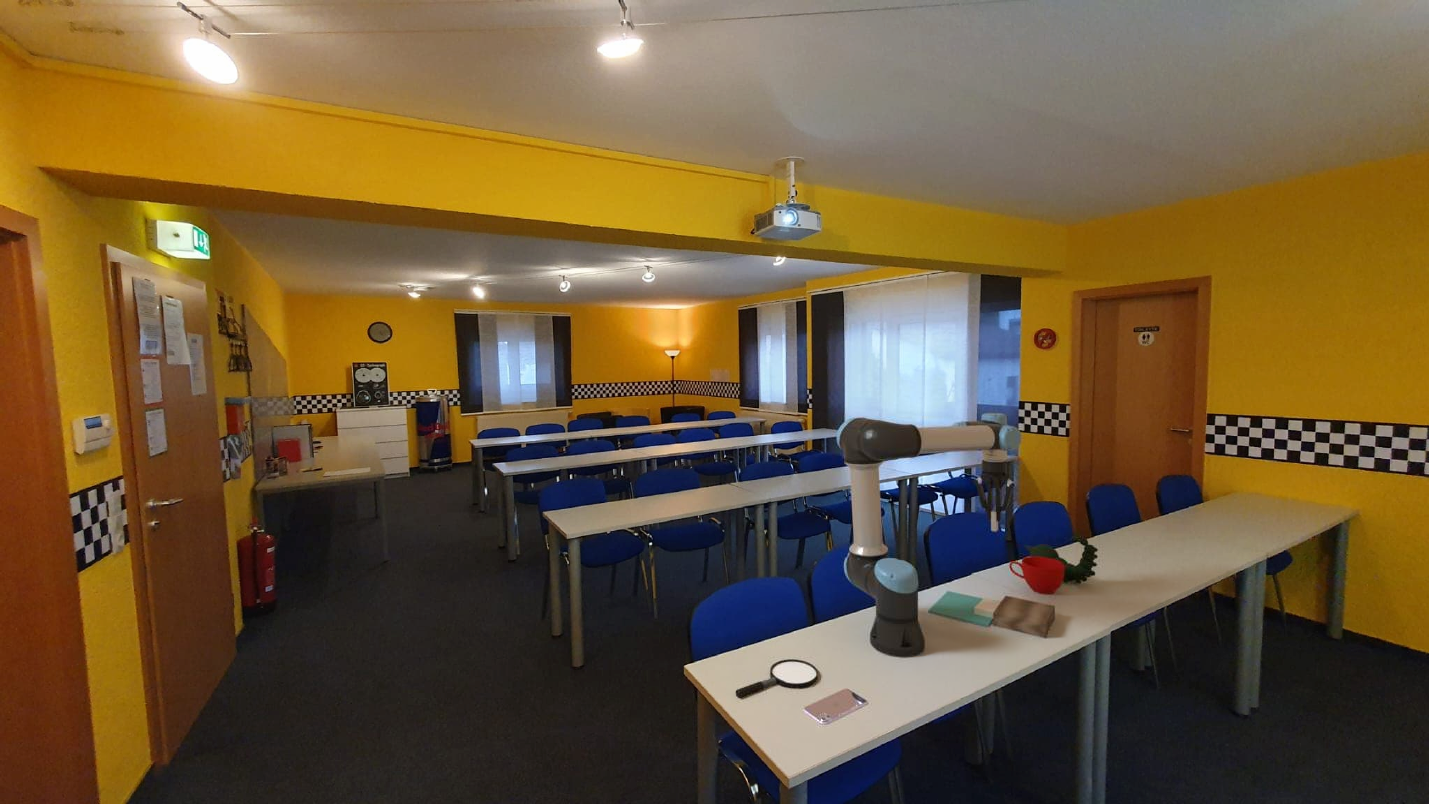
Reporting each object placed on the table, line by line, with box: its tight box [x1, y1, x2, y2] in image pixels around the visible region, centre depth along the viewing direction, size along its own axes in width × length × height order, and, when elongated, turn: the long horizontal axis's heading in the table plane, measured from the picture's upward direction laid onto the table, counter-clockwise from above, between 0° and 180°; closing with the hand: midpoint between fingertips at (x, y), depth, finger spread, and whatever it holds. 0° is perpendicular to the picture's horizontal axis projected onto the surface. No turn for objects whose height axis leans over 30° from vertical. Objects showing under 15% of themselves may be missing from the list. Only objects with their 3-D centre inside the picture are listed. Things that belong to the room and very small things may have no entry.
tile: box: [974, 598, 1001, 618], centre depth 183 cm, size 6×9×2 cm, turn 137°
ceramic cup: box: [1009, 556, 1065, 595], centre depth 200 cm, size 13×17×10 cm
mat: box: [927, 590, 1001, 628], centre depth 187 cm, size 18×20×1 cm
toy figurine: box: [1024, 535, 1099, 585], centre depth 210 cm, size 9×19×25 cm
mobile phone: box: [803, 688, 868, 726], centre depth 136 cm, size 8×1×15 cm
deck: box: [992, 595, 1056, 639], centre depth 176 cm, size 14×16×4 cm
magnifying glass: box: [735, 658, 819, 699], centre depth 147 cm, size 12×24×2 cm, turn 121°
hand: (994, 530), depth 190 cm, fingers closed
